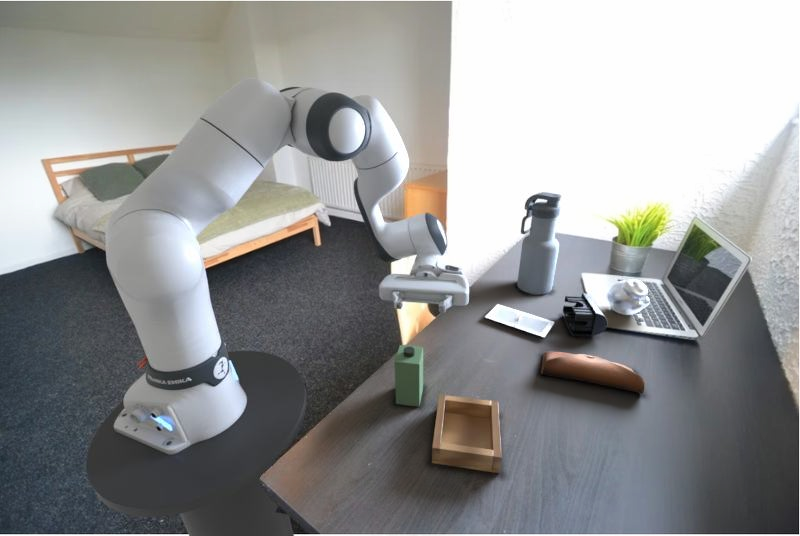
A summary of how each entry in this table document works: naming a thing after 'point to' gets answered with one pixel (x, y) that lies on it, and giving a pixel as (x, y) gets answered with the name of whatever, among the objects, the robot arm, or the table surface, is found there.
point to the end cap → (584, 316)
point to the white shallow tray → (520, 320)
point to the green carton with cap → (409, 375)
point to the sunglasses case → (591, 370)
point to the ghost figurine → (628, 297)
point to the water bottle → (539, 245)
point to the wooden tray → (467, 434)
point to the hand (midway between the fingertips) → (419, 307)
